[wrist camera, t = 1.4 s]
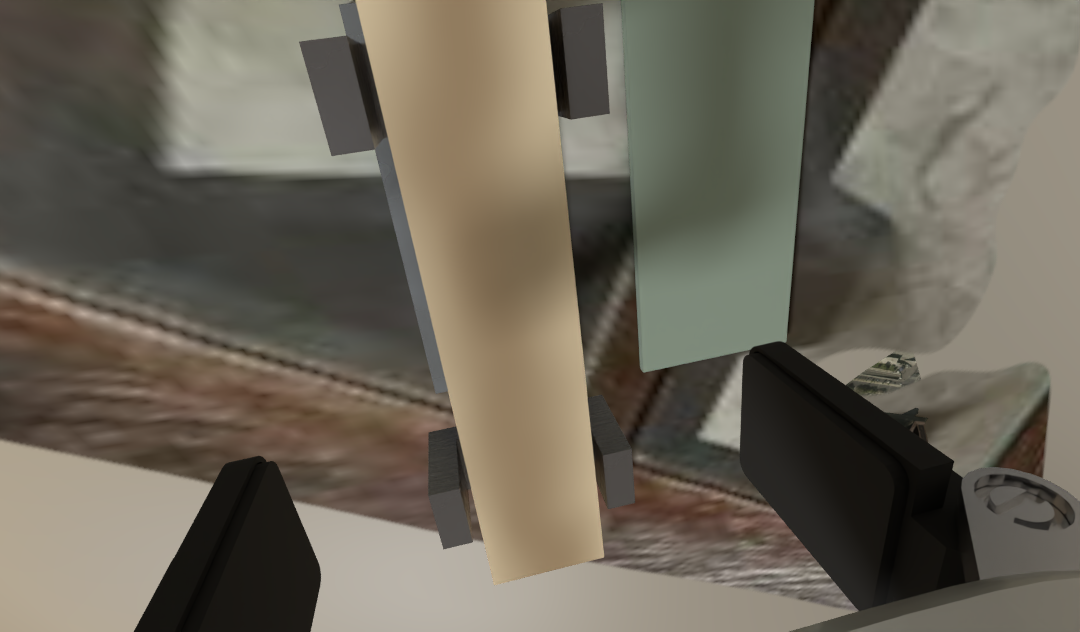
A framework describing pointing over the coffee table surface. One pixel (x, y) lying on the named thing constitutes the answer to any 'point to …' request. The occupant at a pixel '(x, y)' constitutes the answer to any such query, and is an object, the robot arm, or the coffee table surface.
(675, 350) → the rubber mat
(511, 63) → the maple rail
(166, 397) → the coffee table surface
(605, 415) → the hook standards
